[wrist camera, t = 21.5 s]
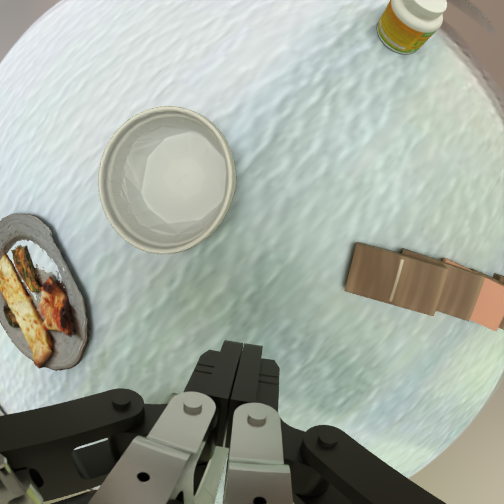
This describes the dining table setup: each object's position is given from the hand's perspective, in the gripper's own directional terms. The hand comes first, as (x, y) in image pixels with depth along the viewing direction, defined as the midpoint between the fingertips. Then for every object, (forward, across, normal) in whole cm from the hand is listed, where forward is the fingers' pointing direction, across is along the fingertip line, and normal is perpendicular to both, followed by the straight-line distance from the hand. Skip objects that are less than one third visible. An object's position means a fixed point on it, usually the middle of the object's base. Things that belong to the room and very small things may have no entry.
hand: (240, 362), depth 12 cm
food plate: (+23, +34, +12) cm, 43 cm away
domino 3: (+20, -19, 0) cm, 28 cm away
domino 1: (+20, -9, 0) cm, 22 cm away
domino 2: (+20, -14, 0) cm, 25 cm away
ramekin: (+22, +10, -6) cm, 25 cm away
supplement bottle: (+21, -12, -27) cm, 36 cm away
